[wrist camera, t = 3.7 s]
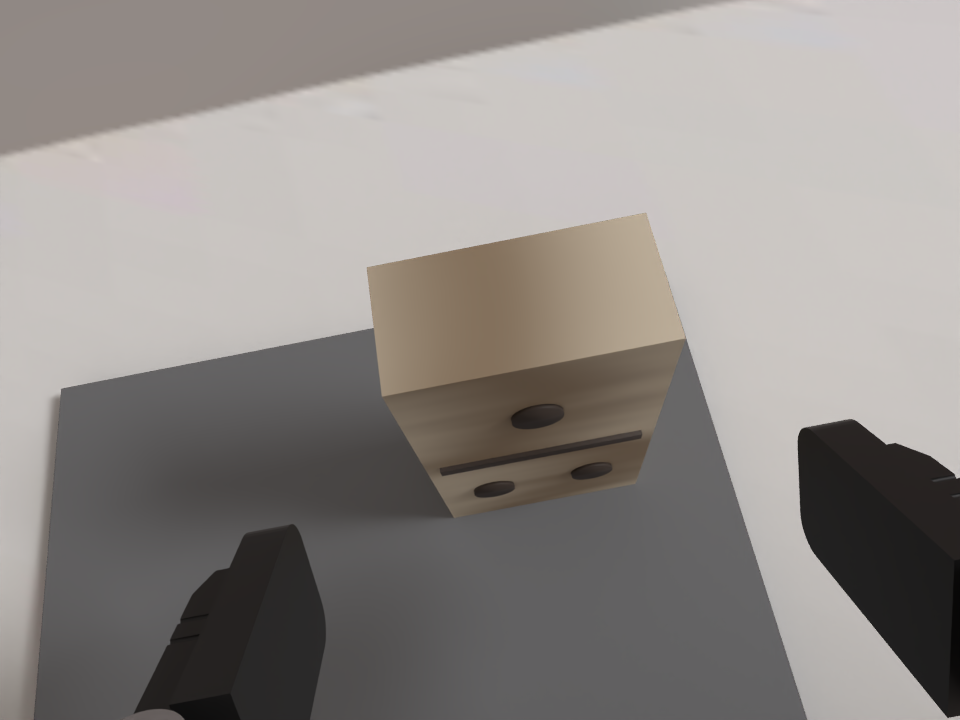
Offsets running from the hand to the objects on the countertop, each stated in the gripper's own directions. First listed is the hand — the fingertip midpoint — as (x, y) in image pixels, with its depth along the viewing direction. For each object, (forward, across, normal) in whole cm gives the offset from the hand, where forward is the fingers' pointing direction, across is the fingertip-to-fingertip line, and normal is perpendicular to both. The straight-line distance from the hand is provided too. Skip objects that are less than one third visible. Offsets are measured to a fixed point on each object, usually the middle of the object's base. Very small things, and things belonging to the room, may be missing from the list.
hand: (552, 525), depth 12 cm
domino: (+8, 0, +3) cm, 9 cm away
